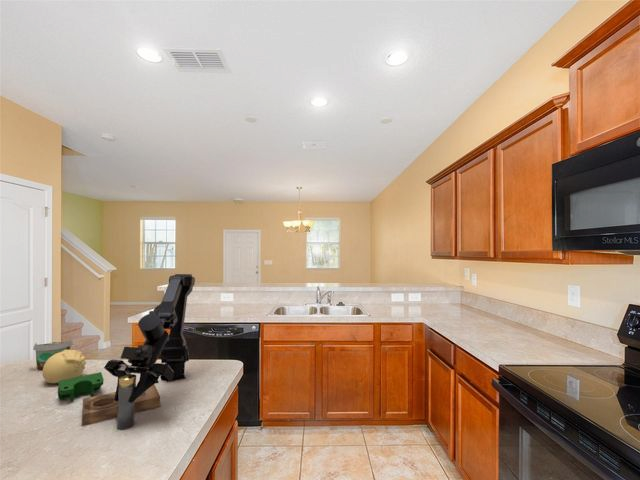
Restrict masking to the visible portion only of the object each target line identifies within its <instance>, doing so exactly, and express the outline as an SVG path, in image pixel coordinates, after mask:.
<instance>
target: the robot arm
mask: <svg viewBox="0 0 640 480" xmlns="http://www.w3.org/2000/svg"><path fill="white" fill-rule="evenodd" d="M195 285H196V278H195V276H193V275H192V273H175V274H174V275H170V276H169V278H168V284H167V286H166V289H165V292H164V295H163V297H162V299H161V302H160V303H159V305H157V306H155V307H154V308H153V310H149V312H148V314H146V315H144V316H142V317H141V318H140V319H139V320H138V324H137V325H138V328H139V330H140V332H141V333H142V336H143V338H144V339H145V340H144V342H143V343H142V345H138V346H137V347H135V346H124V347H123V350H122V353H121V355H120V358H119V359H110V360H108V361H107V362H106V364H105V365H104V367H103V369H104V370H106V372H108V373H109V374H111V376H113V377H115V378H117V384H116V389H115V392H116V393H115V398H114V400H115V401H118V392H119V378H120V377H121V376H124V375H129V374H140V375H139V380H138V382H137V383H136V387H135V389H134V391H133V393H132V395H131V397H130V399H129V402H130V403H132V402H133V401H135V400H136V399H137V398H138V397H139V396H140V395H141V394H142V393H144V392H145V391H146V390H147V389H148V388H150V387H151V386H152V385H155V384H159V383H160V382H159V378H160V380H161V381H162V382H167V383H169V382H175V381H178V380H179V381H180V380H183V379H186V375H185V369H186V368H185V367H186V365H185V364H186V362H188V361H190V352H189V349H188V346H187V341H186V340H187V339H186V338H185V336H184V327H185V319H186V310H187V302H188V301H187V300H188V297H189V295H190V294H191V293H192V292H193V287H194V286H195ZM167 330H169V332H168V331H167ZM123 359H124V360H127V363H128V364H127V363H126V362H125V361H124V360H123ZM158 360H161V361H160V362H159V363H158V362H157V361H158ZM129 364H131V365H129Z"/></svg>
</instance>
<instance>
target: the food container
mask: <svg viewBox="0 0 640 480" xmlns="http://www.w3.org/2000/svg"><path fill="white" fill-rule="evenodd" d="M73 345H74V344H73V339H69V340H68V341H65V342H64V341H63V342H59V341H58V342H56V341H55V342H49V343H43V344H41V343H40V344H37V342H35V343H34V345H33V350H34V351H35V359H36V361H35V362H36V370H37V369H38V371H42V370H43V367H44V365H45V363H46V361H47V360H48V359H49V358H50V357H51V356H53V355H54V354H57V353H59V352H62V351H64V350H71V346H73Z"/></svg>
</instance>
